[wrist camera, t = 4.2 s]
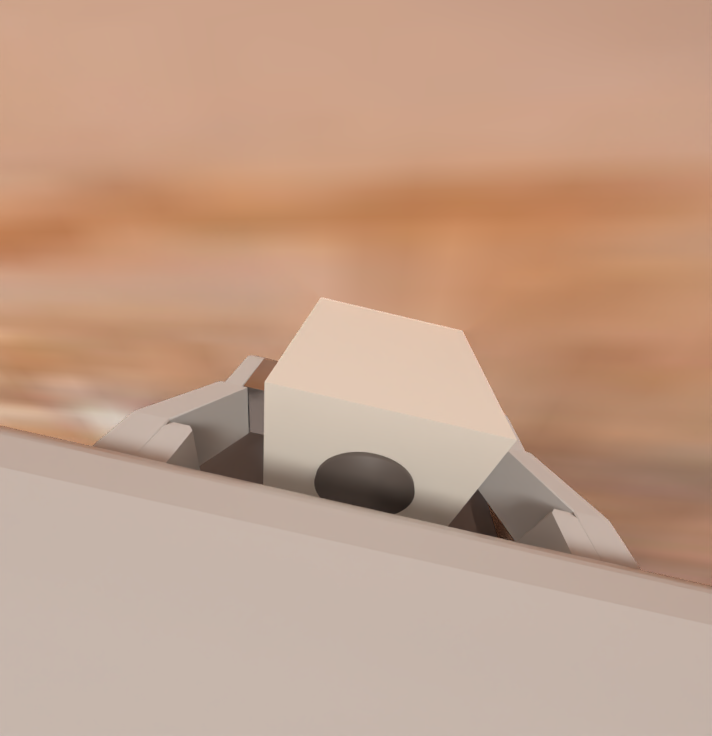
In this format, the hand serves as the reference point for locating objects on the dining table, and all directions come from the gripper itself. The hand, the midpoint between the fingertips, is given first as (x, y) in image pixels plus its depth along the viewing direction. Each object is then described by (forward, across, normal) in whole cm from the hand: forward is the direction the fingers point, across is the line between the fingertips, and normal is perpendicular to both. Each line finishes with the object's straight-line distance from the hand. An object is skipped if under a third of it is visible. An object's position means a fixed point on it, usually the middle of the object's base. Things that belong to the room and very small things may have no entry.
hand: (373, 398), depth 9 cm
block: (+2, 0, 0) cm, 2 cm away
